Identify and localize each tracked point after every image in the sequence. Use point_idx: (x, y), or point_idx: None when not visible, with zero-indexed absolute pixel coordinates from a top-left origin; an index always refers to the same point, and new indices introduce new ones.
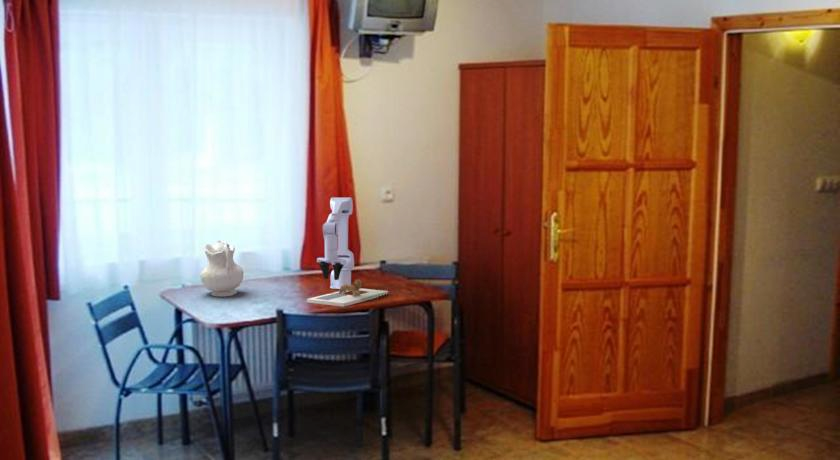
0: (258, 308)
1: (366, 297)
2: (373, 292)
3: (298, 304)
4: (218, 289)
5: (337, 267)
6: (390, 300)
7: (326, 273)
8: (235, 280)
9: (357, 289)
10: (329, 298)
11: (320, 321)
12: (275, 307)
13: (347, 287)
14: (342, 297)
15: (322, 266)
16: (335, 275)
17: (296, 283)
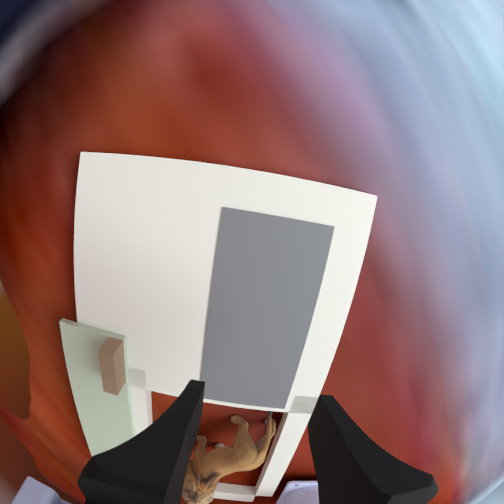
0: (463, 5)
1: (64, 341)
2: (114, 439)
3: (380, 115)
4: None
5: (102, 460)
6: (32, 373)
7: (325, 447)
8: None
9: (191, 460)
10: (236, 260)
11: None
12: (427, 23)
13: (229, 455)
14: (181, 327)
15: (380, 479)
16: (177, 404)
17: (469, 471)
